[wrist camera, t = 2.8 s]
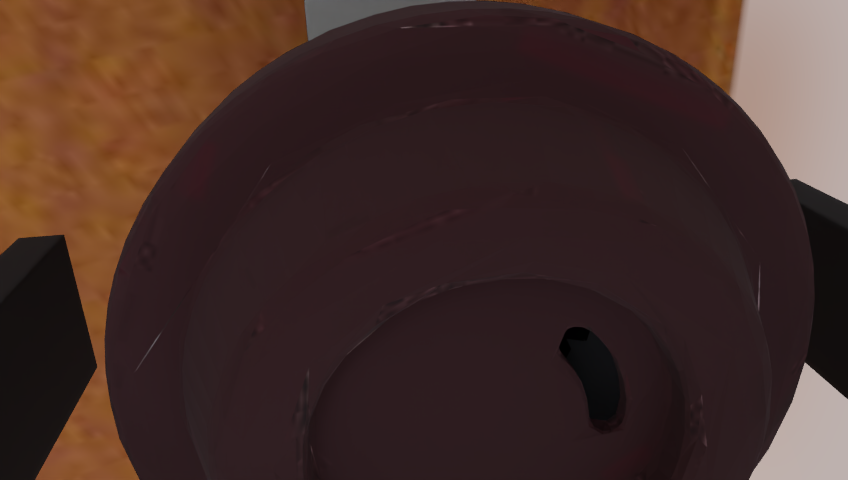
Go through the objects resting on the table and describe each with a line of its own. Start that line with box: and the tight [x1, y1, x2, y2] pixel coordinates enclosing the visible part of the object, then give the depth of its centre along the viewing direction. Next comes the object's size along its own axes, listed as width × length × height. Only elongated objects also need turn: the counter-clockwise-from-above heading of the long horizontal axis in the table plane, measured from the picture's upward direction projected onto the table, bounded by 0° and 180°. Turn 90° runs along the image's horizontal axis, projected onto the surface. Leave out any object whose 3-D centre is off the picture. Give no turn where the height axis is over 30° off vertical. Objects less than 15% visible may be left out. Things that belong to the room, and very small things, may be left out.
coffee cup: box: [105, 1, 815, 480], centre depth 15 cm, size 10×10×15 cm
